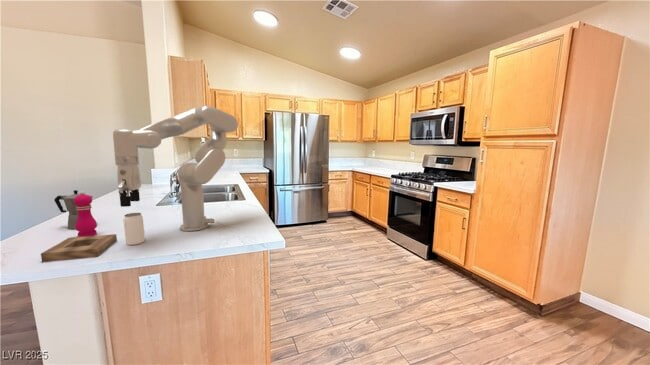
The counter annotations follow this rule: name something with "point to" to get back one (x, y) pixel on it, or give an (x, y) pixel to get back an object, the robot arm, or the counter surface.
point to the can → (134, 229)
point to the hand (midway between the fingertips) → (130, 203)
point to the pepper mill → (84, 216)
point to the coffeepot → (69, 208)
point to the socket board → (79, 248)
